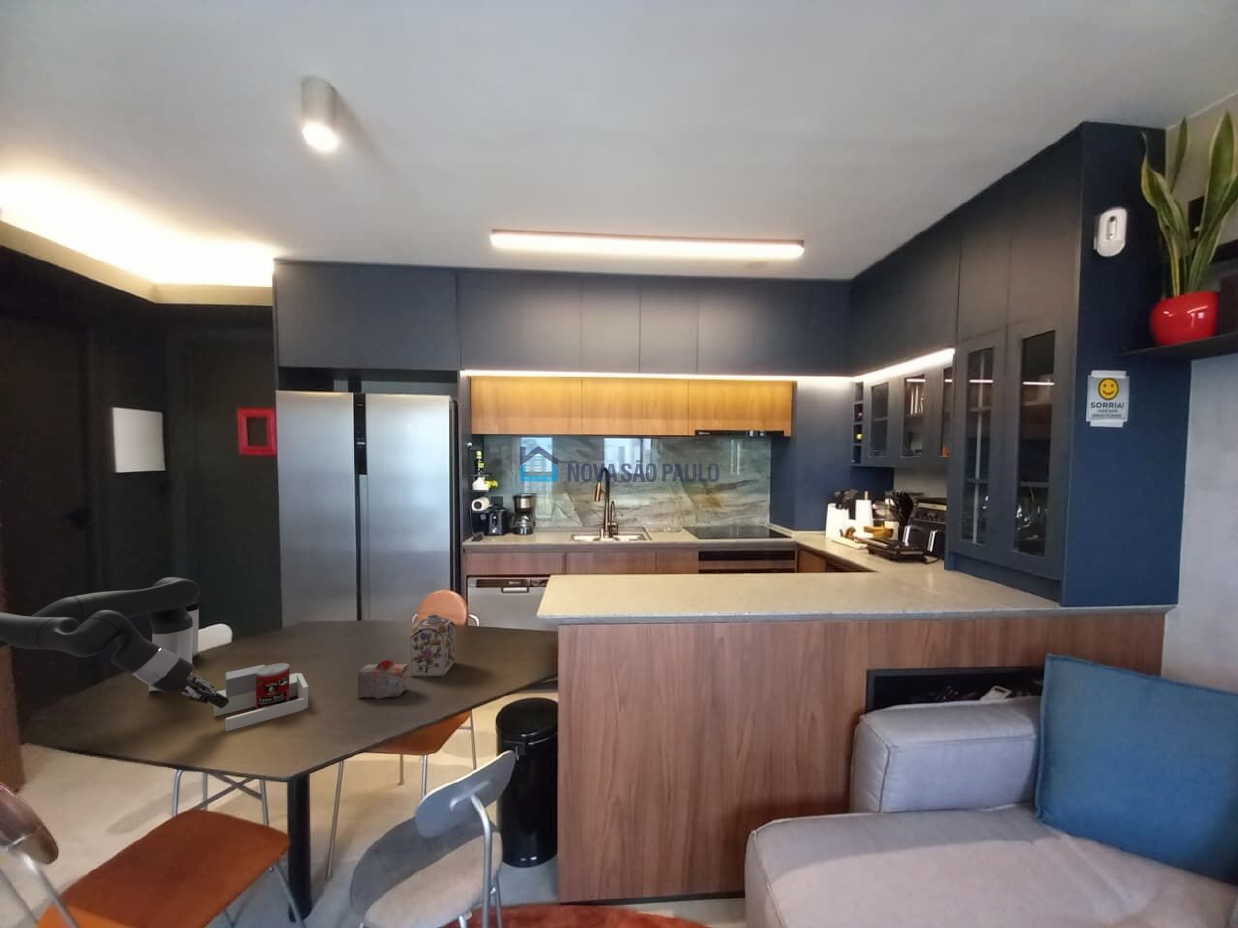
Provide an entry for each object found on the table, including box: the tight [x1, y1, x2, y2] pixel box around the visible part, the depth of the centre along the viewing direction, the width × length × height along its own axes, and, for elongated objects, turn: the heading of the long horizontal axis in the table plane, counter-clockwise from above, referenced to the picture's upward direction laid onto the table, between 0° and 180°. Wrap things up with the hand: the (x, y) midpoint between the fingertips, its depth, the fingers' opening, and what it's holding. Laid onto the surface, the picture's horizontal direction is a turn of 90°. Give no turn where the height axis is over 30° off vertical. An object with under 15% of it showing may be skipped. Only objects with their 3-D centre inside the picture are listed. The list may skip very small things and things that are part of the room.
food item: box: [357, 659, 410, 700], centre depth 143 cm, size 14×8×10 cm, turn 94°
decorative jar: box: [409, 613, 456, 677], centre depth 161 cm, size 12×12×18 cm
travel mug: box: [186, 599, 200, 658], centre depth 172 cm, size 6×7×20 cm
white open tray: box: [213, 664, 309, 732], centre depth 135 cm, size 20×19×9 cm
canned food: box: [255, 662, 291, 710], centre depth 135 cm, size 8×8×11 cm
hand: (225, 703), depth 127 cm, fingers closed
